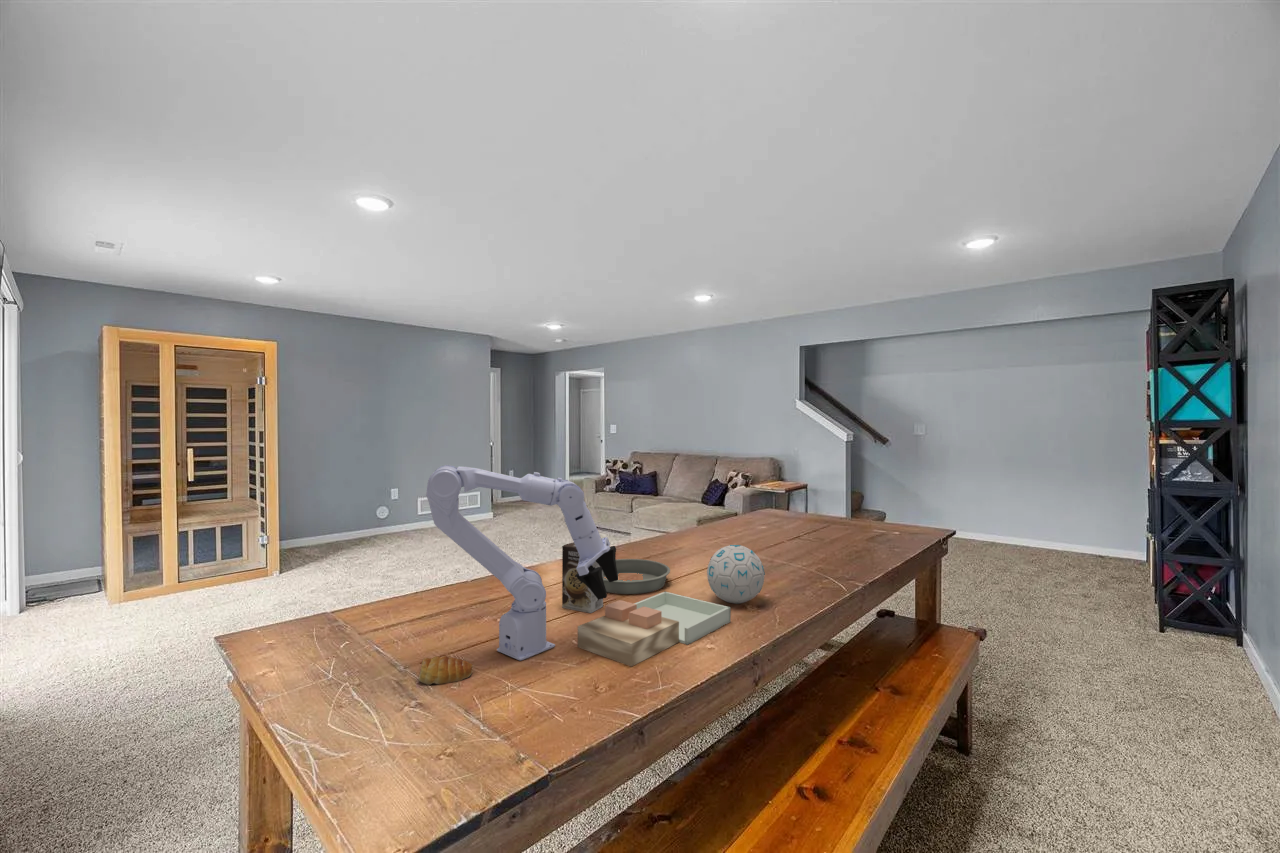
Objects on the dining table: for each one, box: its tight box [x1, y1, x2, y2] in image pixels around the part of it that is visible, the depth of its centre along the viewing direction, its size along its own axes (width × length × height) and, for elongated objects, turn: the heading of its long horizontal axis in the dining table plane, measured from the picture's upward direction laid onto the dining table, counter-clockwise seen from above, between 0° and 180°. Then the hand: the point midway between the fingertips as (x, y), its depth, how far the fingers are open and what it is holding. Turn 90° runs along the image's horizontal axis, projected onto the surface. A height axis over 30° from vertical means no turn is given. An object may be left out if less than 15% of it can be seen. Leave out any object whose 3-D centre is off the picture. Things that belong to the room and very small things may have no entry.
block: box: [577, 615, 680, 668], centre depth 124 cm, size 16×15×4 cm
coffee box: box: [561, 541, 604, 614], centre depth 148 cm, size 9×6×16 cm
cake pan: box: [603, 558, 671, 595], centre depth 170 cm, size 25×25×4 cm
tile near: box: [629, 606, 662, 629], centre depth 124 cm, size 5×5×2 cm
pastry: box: [418, 655, 473, 686], centre depth 109 cm, size 9×7×4 cm
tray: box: [633, 591, 732, 646], centre depth 137 cm, size 18×20×4 cm
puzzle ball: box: [706, 544, 766, 605], centre depth 153 cm, size 15×15×15 cm
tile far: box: [604, 599, 637, 622], centre depth 129 cm, size 5×5×2 cm
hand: (608, 589), depth 126 cm, fingers open, 7 cm apart
